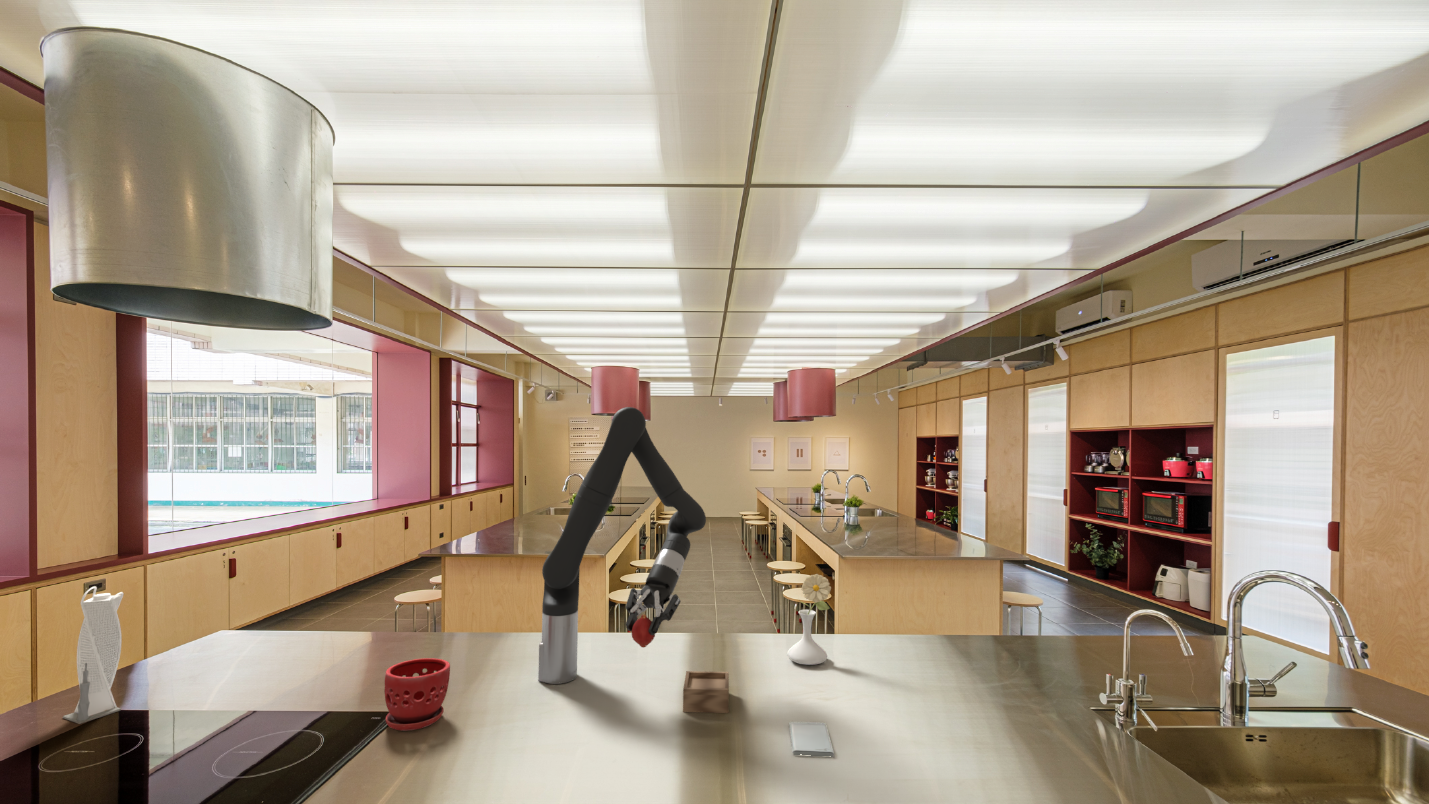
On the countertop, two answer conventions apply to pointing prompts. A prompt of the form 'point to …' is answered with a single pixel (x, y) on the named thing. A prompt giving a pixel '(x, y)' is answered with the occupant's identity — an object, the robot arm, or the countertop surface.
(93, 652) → the skyscraper
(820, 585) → the flower in vase
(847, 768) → the countertop surface
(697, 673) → the wooden tray
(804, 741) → the hard drive
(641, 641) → the onion
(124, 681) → the countertop surface
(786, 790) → the countertop surface
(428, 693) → the plant pot
